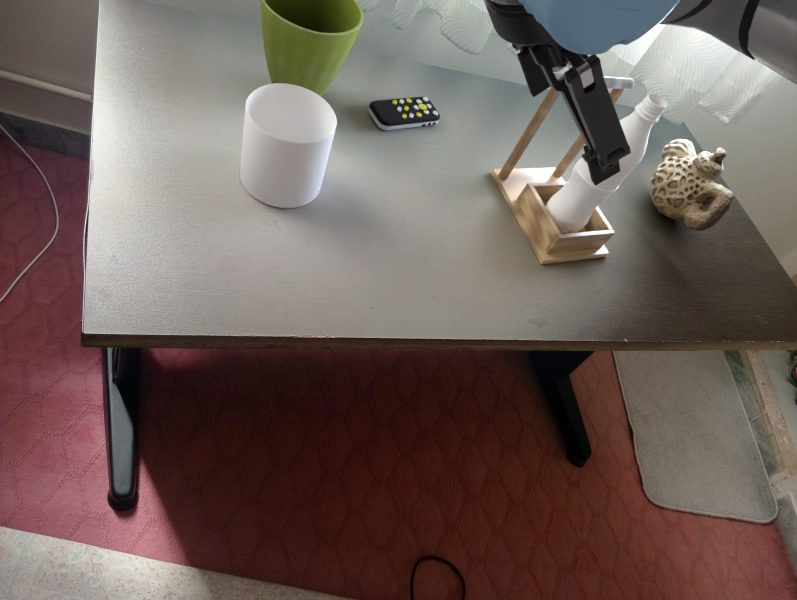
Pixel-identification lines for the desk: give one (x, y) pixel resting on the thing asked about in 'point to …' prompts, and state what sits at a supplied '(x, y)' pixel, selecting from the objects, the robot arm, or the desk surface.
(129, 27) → the desk surface
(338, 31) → the flower pot
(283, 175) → the cup
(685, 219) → the teapot
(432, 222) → the desk surface
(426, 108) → the remote control
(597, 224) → the rack
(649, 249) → the desk surface
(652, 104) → the water bottle
